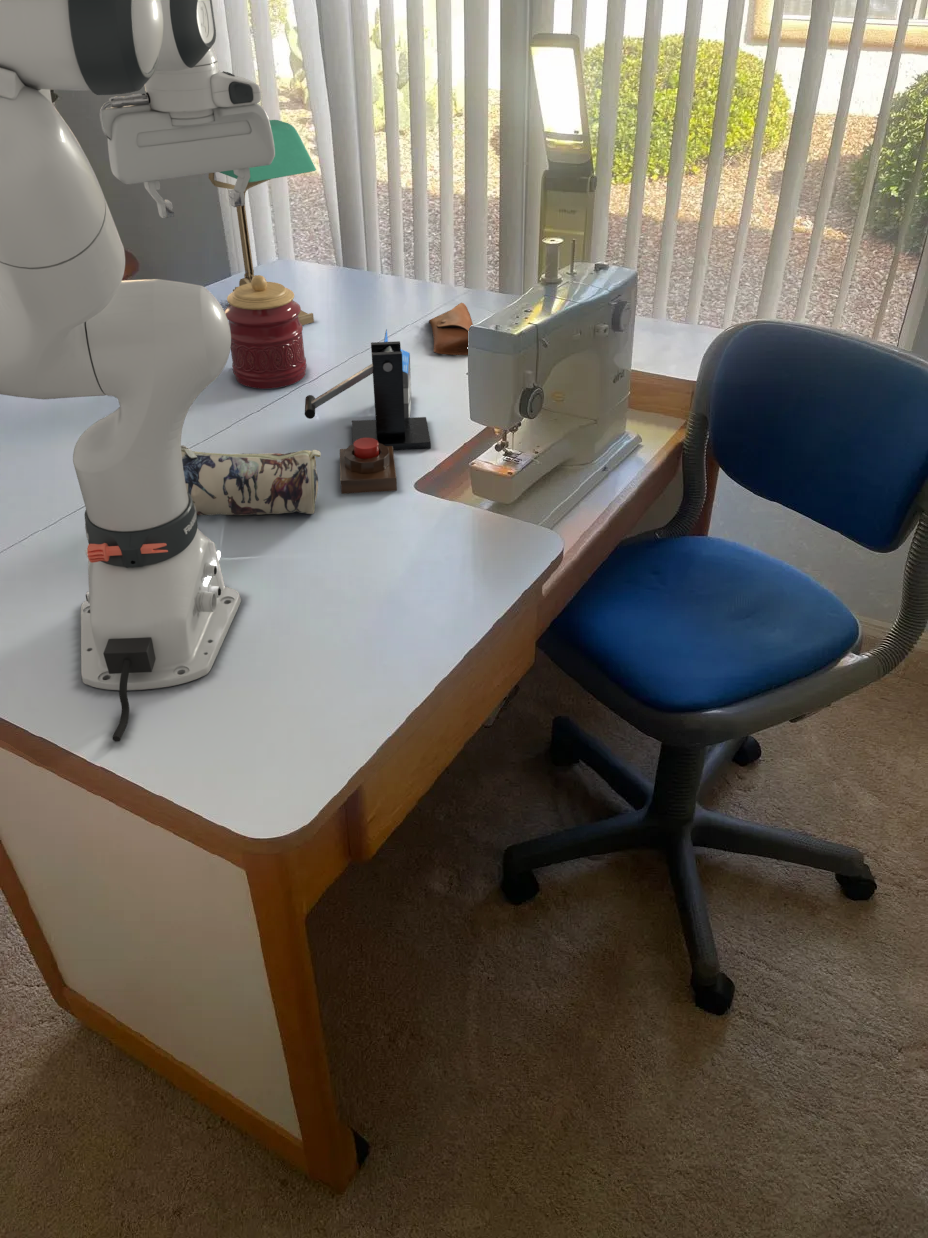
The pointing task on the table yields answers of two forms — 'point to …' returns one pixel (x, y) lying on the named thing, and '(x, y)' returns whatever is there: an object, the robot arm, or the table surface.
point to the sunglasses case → (452, 331)
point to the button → (366, 448)
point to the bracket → (391, 405)
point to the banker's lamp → (285, 163)
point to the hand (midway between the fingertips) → (202, 210)
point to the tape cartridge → (405, 380)
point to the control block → (367, 471)
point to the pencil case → (251, 482)
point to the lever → (337, 389)
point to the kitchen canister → (265, 335)
